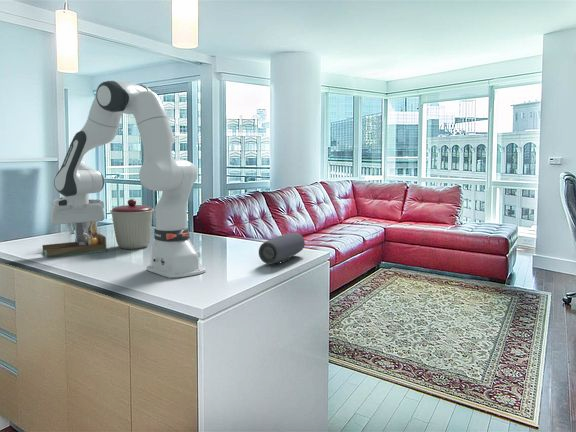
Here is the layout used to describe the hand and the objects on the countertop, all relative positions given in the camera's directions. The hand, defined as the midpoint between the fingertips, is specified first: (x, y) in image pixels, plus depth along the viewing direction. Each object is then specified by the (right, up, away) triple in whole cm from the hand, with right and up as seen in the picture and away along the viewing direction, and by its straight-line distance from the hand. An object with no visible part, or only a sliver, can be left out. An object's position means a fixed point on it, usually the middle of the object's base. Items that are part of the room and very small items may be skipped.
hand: (79, 233), depth 184 cm
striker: (0, -6, +1) cm, 6 cm away
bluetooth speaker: (+85, -10, -12) cm, 86 cm away
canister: (+19, -7, +10) cm, 23 cm away
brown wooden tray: (-2, -8, 0) cm, 8 cm away
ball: (+4, -4, +4) cm, 7 cm away
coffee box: (-4, -6, +16) cm, 17 cm away
